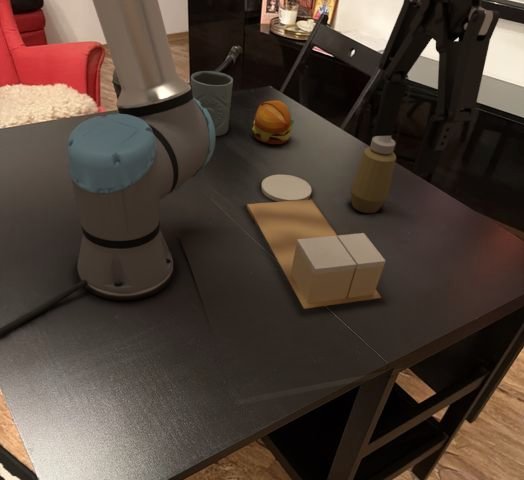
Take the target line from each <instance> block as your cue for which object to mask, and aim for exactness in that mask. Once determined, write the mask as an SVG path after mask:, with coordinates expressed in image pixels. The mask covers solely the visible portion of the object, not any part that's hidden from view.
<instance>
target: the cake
mask: <svg viewBox="0 0 524 480" xmlns="http://www.w3.org/2000/svg"><path fill="white" fill-rule="evenodd" d="M355 267H356V263H355V262H354V261H353V259H352V258H351V256H350V255H349V254H348V252H347V251H346V249H345V248H344V247H343V245H342V244H341V242H340V241H339V240H338V238H337V237H336V236H328V237H317V238H307V239H297V243H296V248H295V254H294V259H293V265H292V270H291V275H292V277H293V278H294V280H295V282H296V284H297V285H298V287H299V289H300V291H301V293H302V294H303V296H304V298H305V300H306V302H307V303H315V302H322V301H330V300H337V299H344V298H346V296H347V293H348V290H349V286H350V283H351V280H352V277H353V273H354V270H355Z"/></svg>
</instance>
